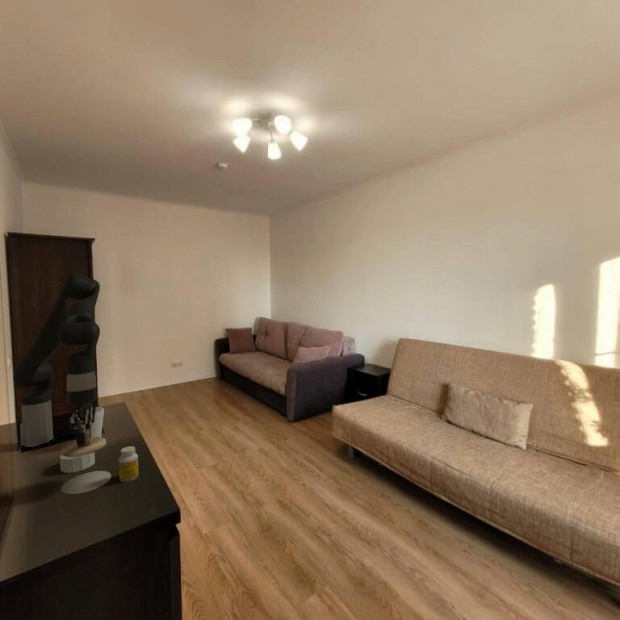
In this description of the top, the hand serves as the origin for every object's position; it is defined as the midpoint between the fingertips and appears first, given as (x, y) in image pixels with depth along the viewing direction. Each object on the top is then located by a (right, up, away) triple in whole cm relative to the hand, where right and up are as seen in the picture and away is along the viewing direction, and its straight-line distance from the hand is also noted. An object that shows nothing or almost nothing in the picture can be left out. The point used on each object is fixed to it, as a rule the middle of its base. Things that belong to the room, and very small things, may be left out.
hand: (84, 441), depth 105 cm
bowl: (-10, -13, +11) cm, 20 cm away
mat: (+1, -13, +1) cm, 13 cm away
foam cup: (-18, -13, +31) cm, 38 cm away
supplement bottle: (+13, -13, +3) cm, 18 cm away
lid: (0, -2, 0) cm, 2 cm away
